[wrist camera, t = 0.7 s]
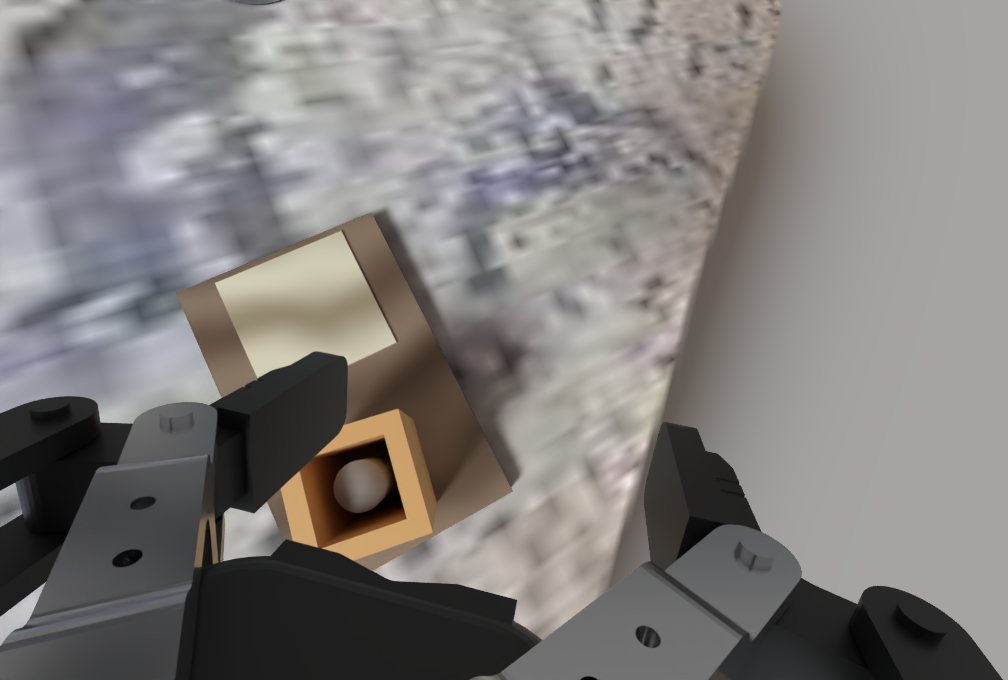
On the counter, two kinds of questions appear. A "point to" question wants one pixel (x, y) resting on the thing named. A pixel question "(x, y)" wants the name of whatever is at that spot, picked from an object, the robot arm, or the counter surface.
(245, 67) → the counter surface
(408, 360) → the post board
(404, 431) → the sleeve
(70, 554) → the robot arm
